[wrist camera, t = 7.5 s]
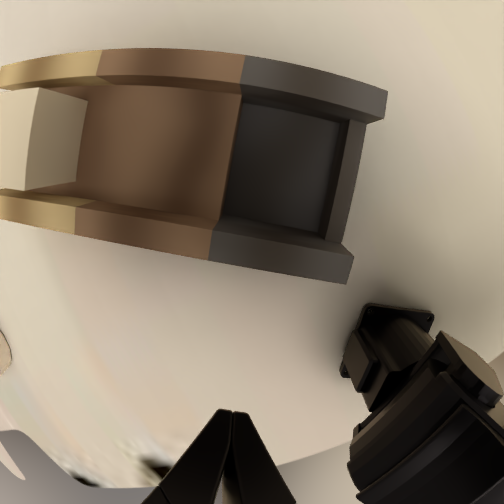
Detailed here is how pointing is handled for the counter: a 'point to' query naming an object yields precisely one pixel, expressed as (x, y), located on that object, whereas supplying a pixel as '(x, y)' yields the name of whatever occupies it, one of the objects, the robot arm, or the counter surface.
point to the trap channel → (206, 156)
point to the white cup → (4, 355)
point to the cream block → (39, 138)
